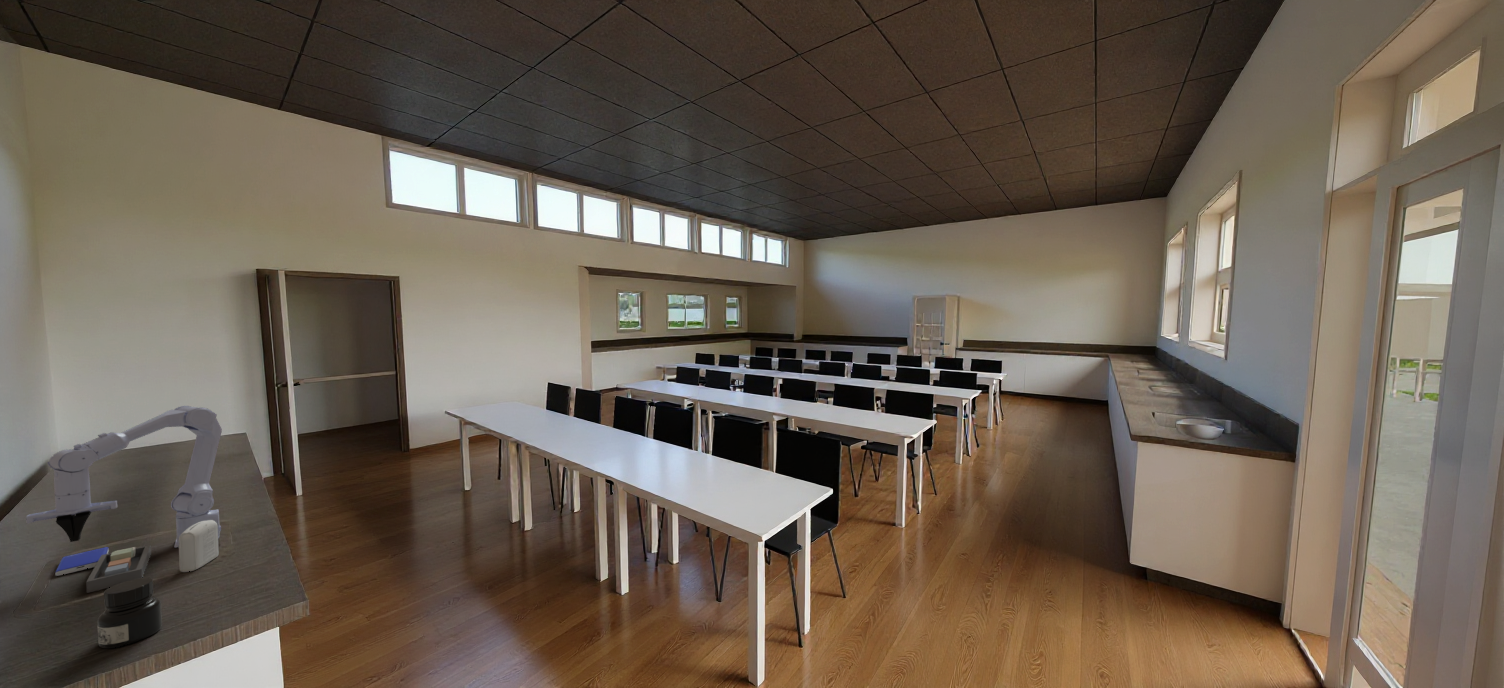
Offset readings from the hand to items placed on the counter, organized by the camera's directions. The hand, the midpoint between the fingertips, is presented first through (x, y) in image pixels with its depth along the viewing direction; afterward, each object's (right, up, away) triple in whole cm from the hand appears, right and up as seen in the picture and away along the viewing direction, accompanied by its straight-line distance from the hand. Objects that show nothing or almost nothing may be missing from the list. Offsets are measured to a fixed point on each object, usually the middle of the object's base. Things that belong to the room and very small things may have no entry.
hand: (75, 540), depth 133 cm
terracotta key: (+11, -9, +1) cm, 14 cm away
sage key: (+7, -8, +4) cm, 12 cm away
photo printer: (+26, -11, +8) cm, 29 cm away
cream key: (+4, -9, +8) cm, 12 cm away
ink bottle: (+48, -12, -24) cm, 55 cm away
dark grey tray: (+9, -10, +3) cm, 14 cm away
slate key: (+14, -9, -2) cm, 17 cm away
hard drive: (-8, -10, +7) cm, 14 cm away
